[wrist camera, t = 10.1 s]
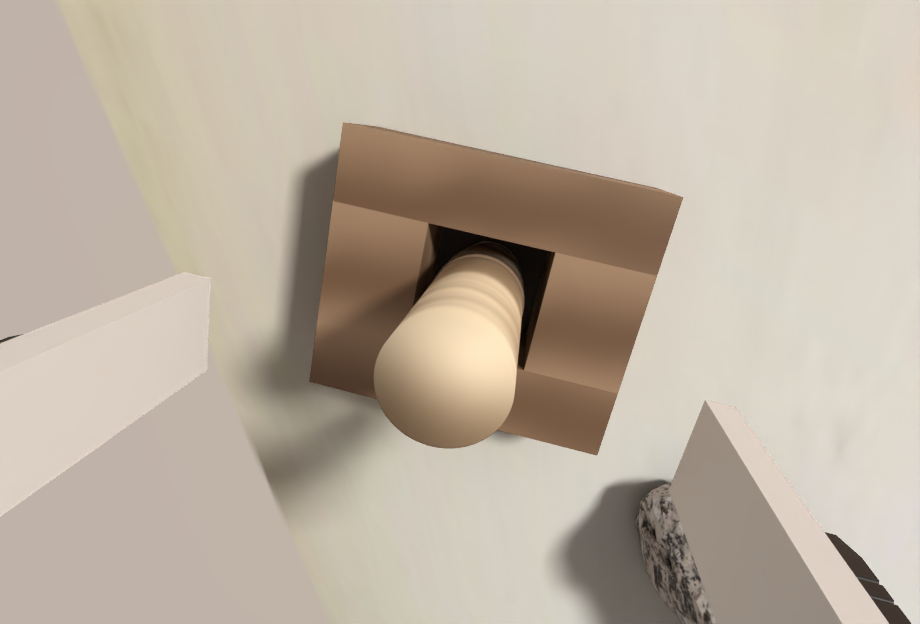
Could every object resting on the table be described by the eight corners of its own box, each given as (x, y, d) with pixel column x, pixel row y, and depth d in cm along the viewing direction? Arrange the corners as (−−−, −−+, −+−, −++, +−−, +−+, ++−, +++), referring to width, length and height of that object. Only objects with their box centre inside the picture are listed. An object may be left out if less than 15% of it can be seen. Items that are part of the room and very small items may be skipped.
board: (377, 126, 27) (343, 122, 22) (656, 188, 26) (683, 197, 21) (344, 345, 31) (309, 381, 26) (587, 406, 30) (597, 455, 25)
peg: (457, 226, 28) (384, 299, 15) (535, 244, 28) (532, 335, 14) (442, 300, 29) (362, 429, 16) (516, 318, 29) (498, 465, 16)
